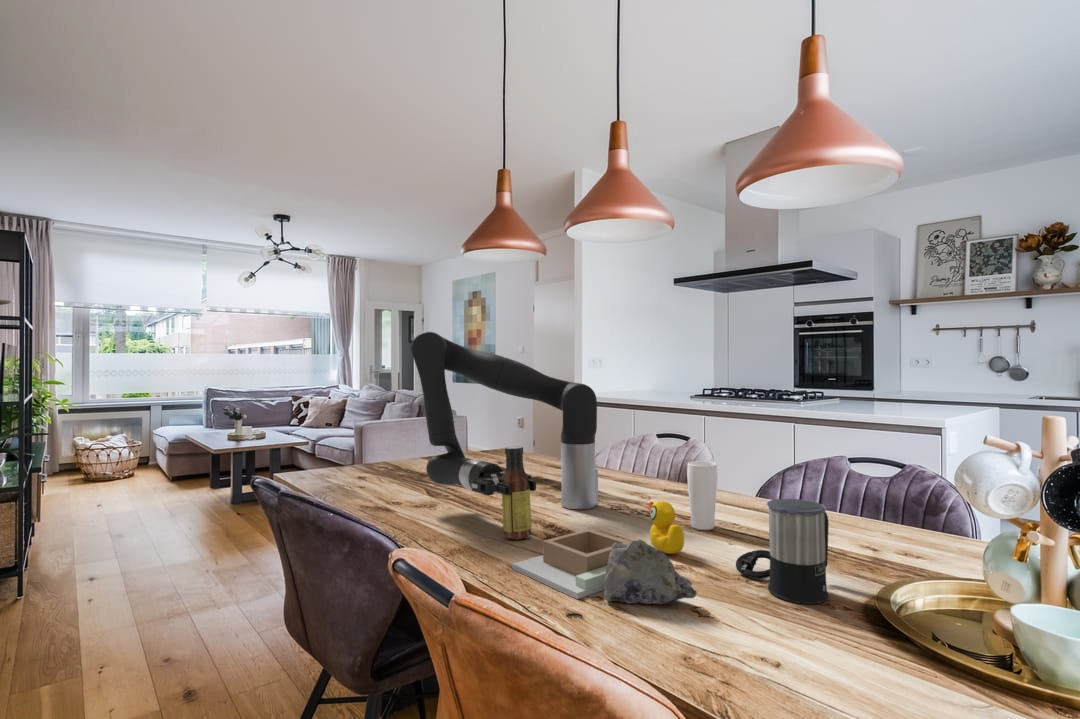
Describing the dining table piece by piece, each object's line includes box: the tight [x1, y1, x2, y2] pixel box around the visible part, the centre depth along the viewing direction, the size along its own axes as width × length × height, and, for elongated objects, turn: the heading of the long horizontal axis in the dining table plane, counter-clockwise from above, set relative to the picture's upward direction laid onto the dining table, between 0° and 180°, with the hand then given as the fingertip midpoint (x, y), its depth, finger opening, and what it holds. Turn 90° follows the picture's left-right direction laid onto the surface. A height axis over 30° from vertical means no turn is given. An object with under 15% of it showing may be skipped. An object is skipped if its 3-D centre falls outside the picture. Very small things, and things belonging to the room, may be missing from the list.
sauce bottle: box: [501, 445, 532, 540], centre depth 126 cm, size 6×6×20 cm
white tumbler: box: [686, 460, 718, 531], centre depth 133 cm, size 7×7×15 cm
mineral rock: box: [603, 539, 698, 605], centre depth 91 cm, size 13×11×10 cm
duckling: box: [648, 500, 685, 555], centre depth 116 cm, size 11×5×10 cm, turn 19°
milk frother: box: [735, 498, 829, 605], centre depth 98 cm, size 14×16×15 cm
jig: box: [511, 528, 632, 600], centre depth 107 cm, size 22×18×5 cm
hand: (522, 488), depth 124 cm, fingers closed on sauce bottle, 6 cm apart
